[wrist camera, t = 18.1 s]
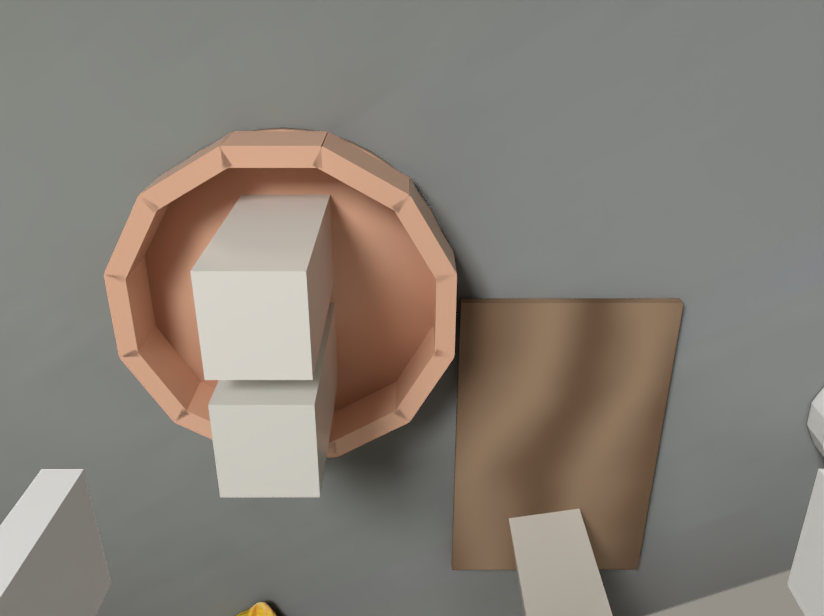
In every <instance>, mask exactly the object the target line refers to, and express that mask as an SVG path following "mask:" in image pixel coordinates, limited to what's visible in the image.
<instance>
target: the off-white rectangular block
mask: <svg viewBox="0 0 824 616" xmlns="http://www.w3.org/2000/svg"><path fill="white" fill-rule="evenodd" d="M337 386H338V360H337V338H336V316H335V303H329V308H328V312H327V317H326V322H325V326H324V331H323V335H322V340H321V345H320V349H319V354H318V358H317V363H316V368H315V372H314V377H313V380H219V381H218V383H217V386H216V388H215V390H214V393H213V395H212V397H211V399H210V402H209V404H208V409H209V416H210V424H211V431H212V439H213V446H214V454H215V461H216V469H217V476H218V484H219V491H220V497H320V494H321V488H322V482H323V475H324V469H325V463H326V456H327V450H328V443H329V437H330V431H331V424H332V418H333V412H334V405H335V399H336V393H337Z"/></svg>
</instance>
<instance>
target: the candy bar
mask: <svg viewBox="0 0 824 616" xmlns="http://www.w3.org/2000/svg"><path fill="white" fill-rule="evenodd" d="M236 616H277V615H276V614H275V612H274V611H273V610H272V608H271V607H270V606H269V605H268V604H267V603H266V602H259V603H256V604H255V605H254V606H252V607H251V608H250V609H249V610H247V611H243V612H241V613H240V614H238V615H236Z"/></svg>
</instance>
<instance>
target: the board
mask: <svg viewBox="0 0 824 616" xmlns="http://www.w3.org/2000/svg"><path fill="white" fill-rule="evenodd" d="M683 304H684V303H683V302H682V300H681V299H460V327H459V356H458V386H457V416H456V446H455V475H454V505H453V535H452V570H516V563H515V557H514V550H513V543H512V537H511V530H510V524H509V518H515V517H522V516H529V515H536V514H544V513H551V512H558V511H565V510H572V509H580V512H581V515H582V518H583V522H584V525H585V528H586V531H587V534H588V538H589V541H590V544H591V547H592V551H593V554H594V557H595V560H596V564H597V567H598V569H638V563H639V558H640V552H641V546H642V540H643V535H644V529H645V523H646V517H647V512H648V506H649V500H650V494H651V488H652V483H653V477H654V471H655V465H656V460H657V454H658V448H659V442H660V437H661V431H662V425H663V419H664V414H665V408H666V402H667V396H668V391H669V385H670V379H671V373H672V367H673V362H674V356H675V350H676V344H677V339H678V333H679V327H680V321H681V316H682V310H683Z"/></svg>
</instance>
